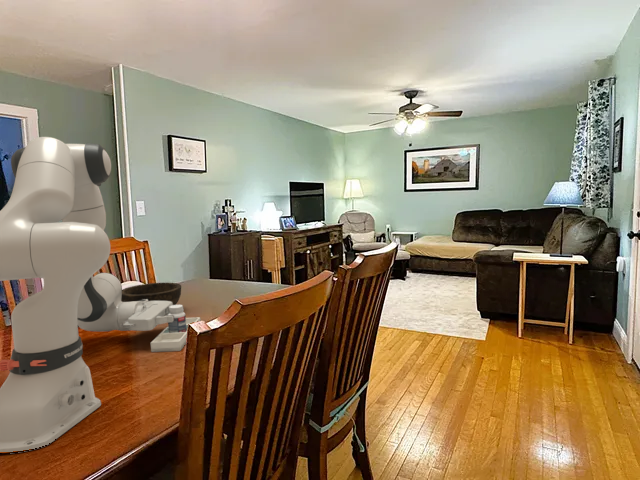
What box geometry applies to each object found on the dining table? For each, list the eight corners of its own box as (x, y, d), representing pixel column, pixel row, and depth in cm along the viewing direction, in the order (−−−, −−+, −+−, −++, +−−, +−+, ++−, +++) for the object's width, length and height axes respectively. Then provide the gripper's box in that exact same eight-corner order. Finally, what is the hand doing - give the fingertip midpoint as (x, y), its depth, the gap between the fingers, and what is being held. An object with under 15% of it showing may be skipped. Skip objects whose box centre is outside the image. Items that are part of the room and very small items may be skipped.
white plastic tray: (180, 350, 116) (179, 341, 115) (151, 352, 115) (150, 342, 115) (200, 325, 139) (200, 317, 139) (176, 326, 139) (176, 318, 138)
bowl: (184, 318, 148) (182, 291, 147) (118, 326, 140) (116, 298, 139) (181, 304, 168) (180, 280, 167) (123, 310, 160) (121, 286, 159)
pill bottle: (180, 337, 124) (178, 308, 123) (165, 336, 125) (163, 308, 124) (189, 331, 129) (187, 304, 128) (175, 330, 130) (173, 303, 129)
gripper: (117, 315, 115) (166, 313, 116) (145, 297, 136) (186, 296, 136) (119, 337, 116) (168, 335, 116) (146, 316, 136) (188, 314, 137)
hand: (178, 314), depth 126 cm, fingers open, 8 cm apart
